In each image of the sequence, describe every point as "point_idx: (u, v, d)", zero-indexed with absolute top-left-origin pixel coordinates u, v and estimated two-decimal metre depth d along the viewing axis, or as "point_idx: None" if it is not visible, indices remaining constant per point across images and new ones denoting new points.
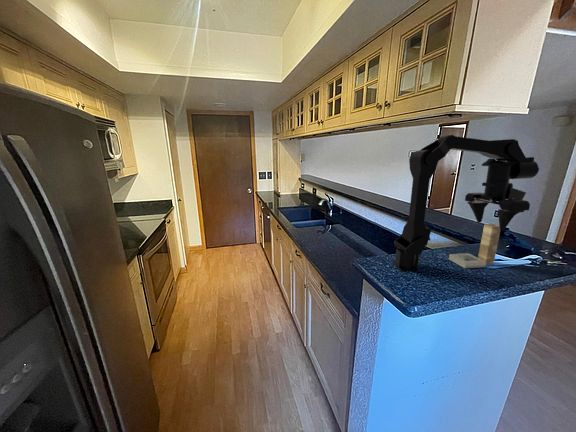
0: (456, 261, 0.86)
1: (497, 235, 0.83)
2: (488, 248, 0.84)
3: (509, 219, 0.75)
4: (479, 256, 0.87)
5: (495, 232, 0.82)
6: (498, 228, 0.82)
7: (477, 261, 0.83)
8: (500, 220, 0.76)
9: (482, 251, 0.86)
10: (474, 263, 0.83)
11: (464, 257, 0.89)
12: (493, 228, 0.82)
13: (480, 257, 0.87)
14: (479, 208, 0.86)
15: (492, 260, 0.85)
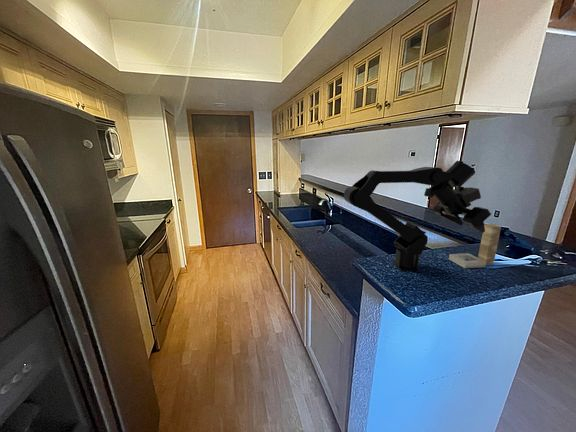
0: (456, 261, 0.86)
1: (497, 235, 0.83)
2: (488, 248, 0.84)
3: (482, 224, 0.77)
4: (479, 256, 0.87)
5: (495, 232, 0.82)
6: (498, 228, 0.82)
7: (477, 261, 0.83)
8: (475, 229, 0.77)
9: (482, 251, 0.86)
10: (474, 263, 0.83)
11: (464, 257, 0.89)
12: (493, 228, 0.82)
13: (480, 257, 0.87)
14: (452, 215, 0.87)
15: (492, 260, 0.85)
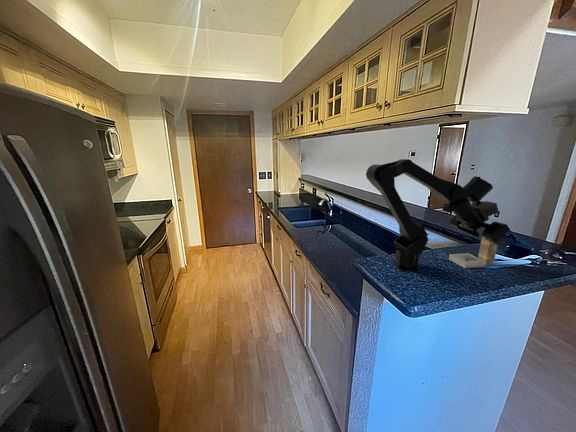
0: (456, 261, 0.86)
1: None
2: (488, 248, 0.84)
3: (500, 238, 0.78)
4: (479, 256, 0.87)
5: None
6: None
7: (477, 261, 0.83)
8: (494, 243, 0.79)
9: (482, 251, 0.86)
10: (474, 263, 0.83)
11: (464, 257, 0.89)
12: None
13: (480, 257, 0.87)
14: (469, 228, 0.89)
15: (492, 260, 0.85)
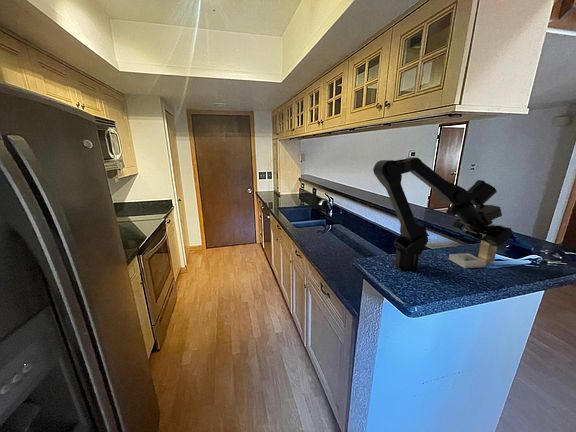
0: (456, 261, 0.86)
1: None
2: (488, 248, 0.84)
3: None
4: (479, 256, 0.87)
5: None
6: None
7: (477, 261, 0.83)
8: (489, 243, 0.82)
9: (482, 251, 0.86)
10: (474, 263, 0.83)
11: (464, 257, 0.89)
12: None
13: (480, 257, 0.87)
14: (479, 233, 0.86)
15: (492, 260, 0.85)
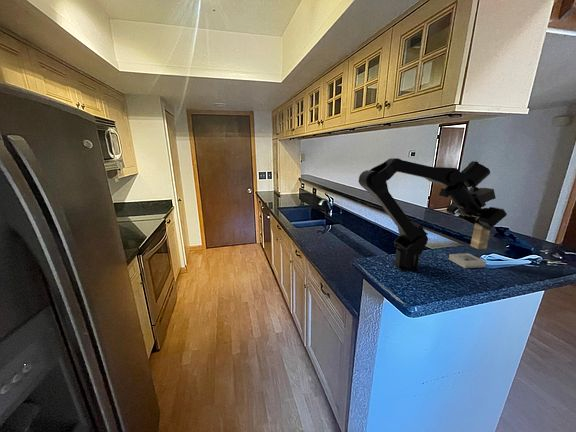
0: (456, 261, 0.86)
1: None
2: (481, 232, 0.82)
3: None
4: (472, 240, 0.86)
5: None
6: None
7: (477, 261, 0.83)
8: None
9: (475, 235, 0.85)
10: (474, 263, 0.83)
11: (464, 257, 0.89)
12: None
13: (473, 241, 0.85)
14: (472, 217, 0.85)
15: (485, 244, 0.83)
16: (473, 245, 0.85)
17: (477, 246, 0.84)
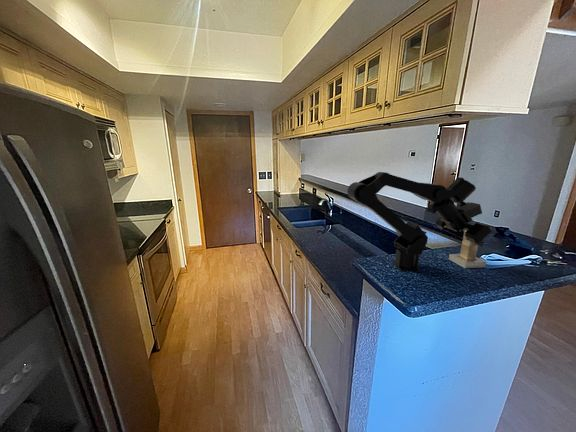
0: (456, 261, 0.86)
1: None
2: (469, 249, 0.84)
3: None
4: (460, 256, 0.87)
5: None
6: None
7: (477, 261, 0.83)
8: None
9: (463, 251, 0.86)
10: (474, 263, 0.83)
11: None
12: None
13: (461, 257, 0.87)
14: None
15: None
16: None
17: None
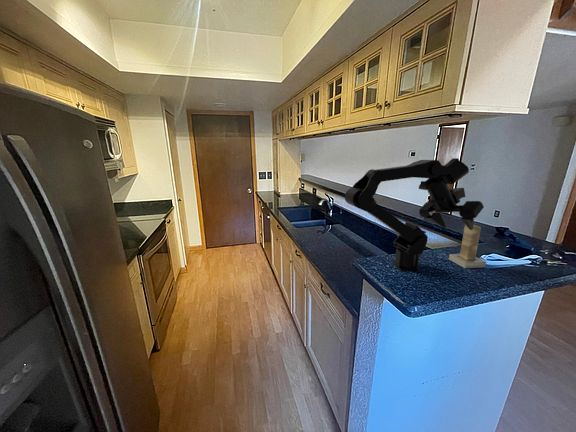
0: (456, 261, 0.86)
1: (477, 235, 0.83)
2: (468, 249, 0.84)
3: (472, 219, 0.78)
4: (460, 256, 0.87)
5: (475, 232, 0.82)
6: (478, 228, 0.82)
7: (477, 261, 0.83)
8: (467, 225, 0.78)
9: (463, 251, 0.86)
10: (474, 263, 0.83)
11: None
12: (473, 228, 0.82)
13: (461, 257, 0.87)
14: (437, 217, 0.87)
15: None
16: None
17: None
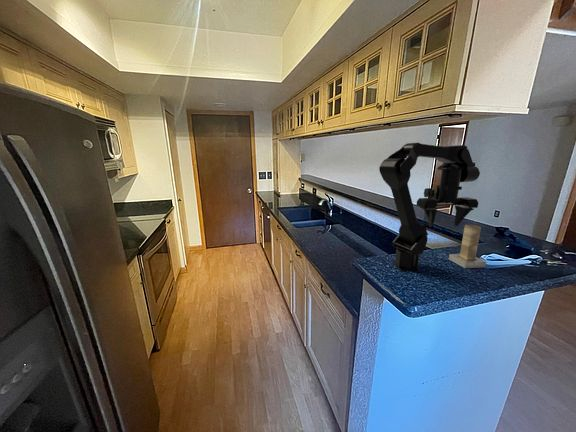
0: (456, 261, 0.86)
1: (477, 235, 0.83)
2: (468, 249, 0.84)
3: None
4: (460, 256, 0.87)
5: (475, 232, 0.82)
6: (478, 228, 0.82)
7: (477, 261, 0.83)
8: (462, 218, 0.84)
9: (463, 251, 0.86)
10: (474, 263, 0.83)
11: None
12: (473, 228, 0.82)
13: (461, 257, 0.87)
14: None
15: None
16: None
17: None
